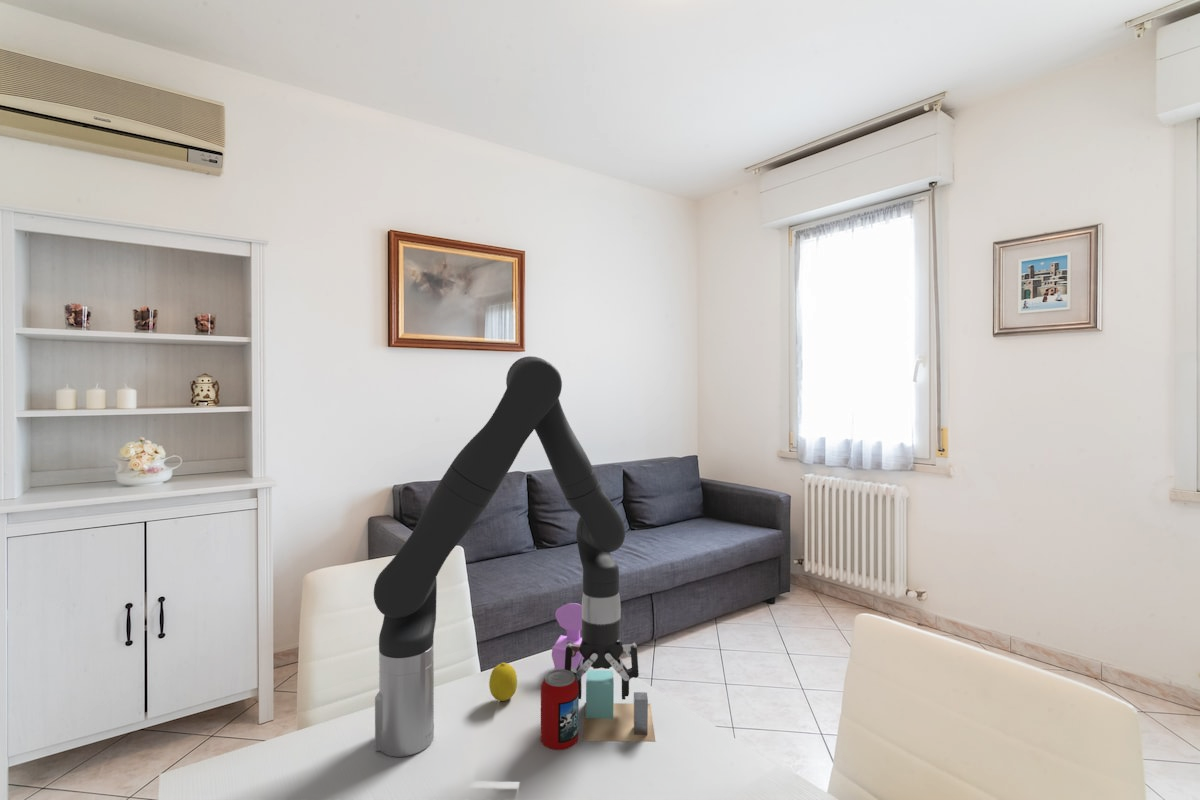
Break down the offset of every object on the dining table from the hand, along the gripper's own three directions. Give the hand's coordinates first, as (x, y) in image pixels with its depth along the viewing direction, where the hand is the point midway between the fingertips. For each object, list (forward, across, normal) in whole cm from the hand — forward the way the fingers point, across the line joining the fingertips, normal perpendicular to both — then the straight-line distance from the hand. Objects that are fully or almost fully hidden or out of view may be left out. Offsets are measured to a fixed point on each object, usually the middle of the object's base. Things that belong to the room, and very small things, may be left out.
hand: (601, 697), depth 112 cm
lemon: (+4, -20, +4) cm, 21 cm away
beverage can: (+4, -8, -9) cm, 12 cm away
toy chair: (+4, -7, +15) cm, 17 cm away
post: (+3, +7, -6) cm, 10 cm away
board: (+4, +3, -3) cm, 6 cm away
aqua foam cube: (+3, 0, 0) cm, 3 cm away
